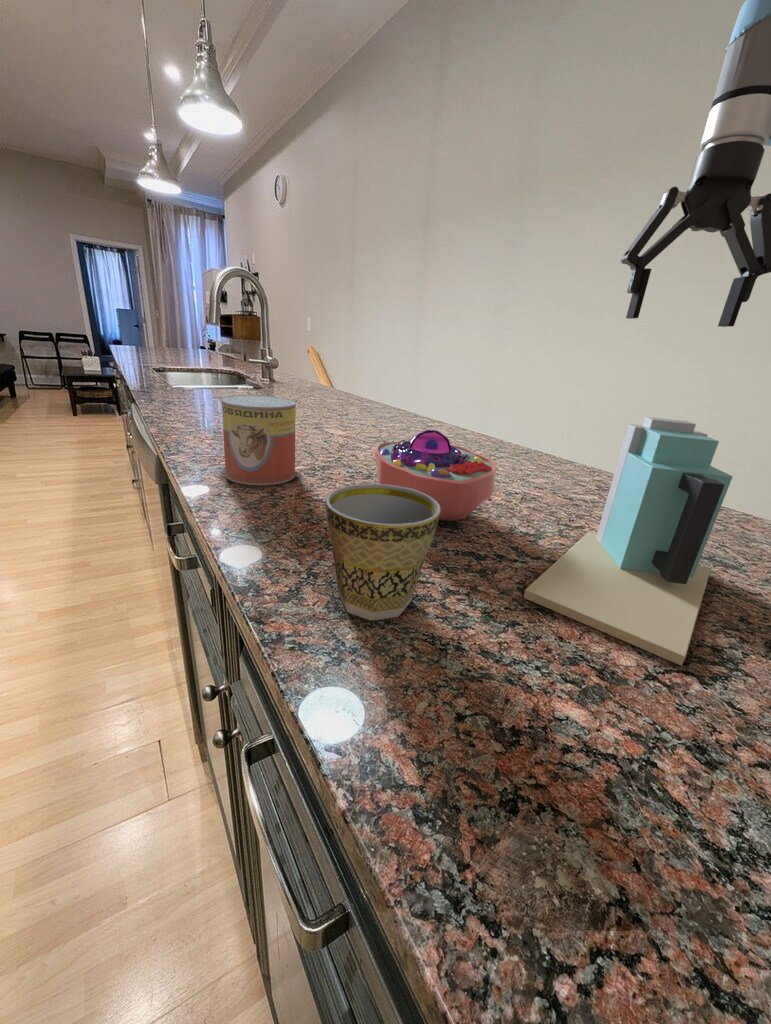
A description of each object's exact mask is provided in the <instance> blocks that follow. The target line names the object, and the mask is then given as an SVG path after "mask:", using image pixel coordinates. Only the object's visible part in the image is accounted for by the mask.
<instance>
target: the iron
mask: <svg viewBox="0 0 771 1024" xmlns="http://www.w3.org/2000/svg"><path fill="white" fill-rule="evenodd" d="M696 426H697V424H696V423H694V422H690V421H688V420H680V419H671V418H661V417H650V416H645V417H644V420H643V423H642V424H633V423H632V424H631V423H628V425H627V427H626V431H625V435H624V439H623V442H622V446H621V450H620V452H619V456H618V460H617V462H616V463H617V464H616V467H615V470H614V474H613V477H612V481H611V484H610V488H609V491H608V495H607V496H606V501H605V505H604V508H603V512H602V515H601V518H600V521H599V525H598V529H597V532H596V533H597V535H596V539H597V540H598V541H599V542H600V544H601V545H602V546H603V547H604V549H605V550H606V551H607V552H608V554H609V555H610V556H611V558H612V559H613V560H614V561H615V563H616V564H617V565H618V566H619V568H620V569H627V570H635V571H643V572H651V573H659V574H660V575H661V576H662V577H663V578H664V580H665V581H666V582H672V583H680V584H686V583H687V581H688V578H689V577H691V578H693V576H694V574H695V571H696V568H697V566H698V565H699V564H700V561H701V558H702V557H703V556H702V555H703V553H704V552H705V551H704V550H705V548H706V545H707V543H708V540H709V538H710V535H711V533H712V530H713V528H714V525H715V522H716V520H717V517H718V516H719V513H720V510H721V508H722V506H723V505H722V504H723V502H724V500H725V498H726V495H727V492H728V490H729V488H730V485H731V482H732V480H733V475H731V474H729V473H727V472H725V471H723V470H721V469H718V468H716V467H714V466H712V465H711V464H712V461H713V459H714V456H715V454H716V451H717V448H718V446H719V442H720V441H719V440H717V439H715V438H712V437H709V436H708V433H705V432H702V431H700V430H695V428H696Z"/></svg>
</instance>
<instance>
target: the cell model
mask: <svg viewBox="0 0 771 1024" xmlns="http://www.w3.org/2000/svg"><path fill="white" fill-rule="evenodd" d="M373 454H374V460H375V470H376V472H375V473H376V476H375V478H376V479H375V480H376V484H387V485H395V486H401V487H405V488H412V489H415V490H416V491H419V492H422V493H424V494H426V495H428V496H430V497H431V498H433V499H434V500H435V501H436V502H437V503H438V504H439V505H440V508H441V512H440V516H439V520H438V522H439V521H440V522H441V521H458V520H462V519H464V518H466V517H468V516H469V515H470V514H471V513H473V511H475V510H476V509H477V508H478V507H480V506H481V505H482V504H483V503H485V501H487V500H488V499H489V498H491V496H492V495H493V494H494V490H495V485H496V483H495V482H496V474H497V462H496V461H495V460H493V459H491V458H488V457H486V456H484V455H482V454H481V453H477V452H476V451H474V450H471V449H468V448H465V447H461V446H458V445H453V444H451V442H450V440H449V438H448V437H447V436H446V435H445V434H444V433H442V432H441V431H439V430H438V429H437V430H436V429H424V430H423V431H421V432H418V433H416V434H415V435H414V436H413V437H412V438H411V440H403V441H389V442H383V443H380V444H377V445H375V446H374V449H373Z"/></svg>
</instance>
